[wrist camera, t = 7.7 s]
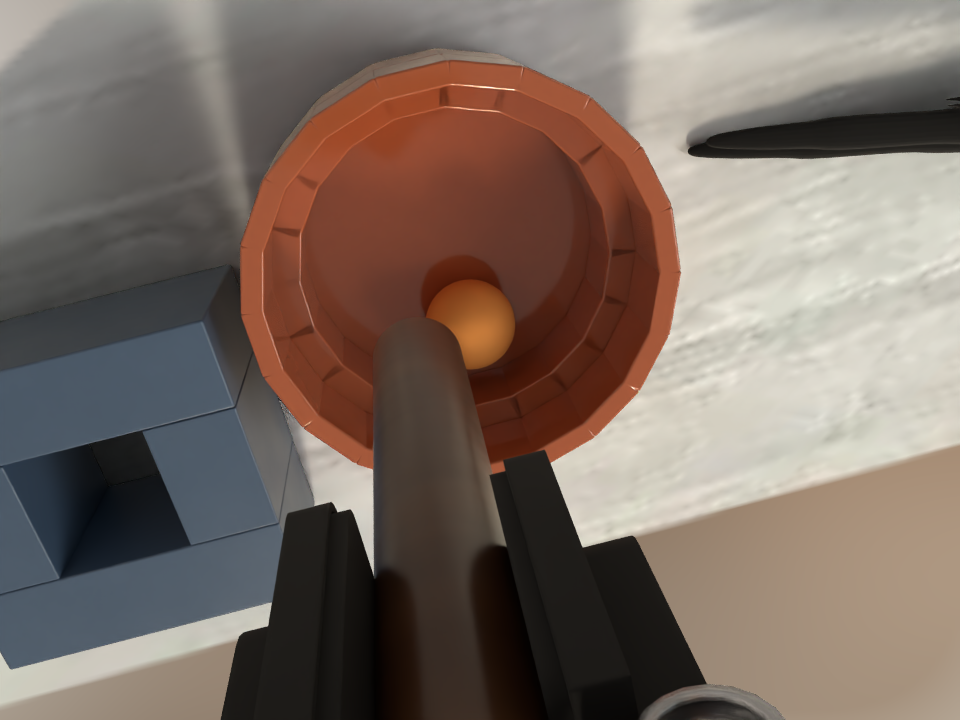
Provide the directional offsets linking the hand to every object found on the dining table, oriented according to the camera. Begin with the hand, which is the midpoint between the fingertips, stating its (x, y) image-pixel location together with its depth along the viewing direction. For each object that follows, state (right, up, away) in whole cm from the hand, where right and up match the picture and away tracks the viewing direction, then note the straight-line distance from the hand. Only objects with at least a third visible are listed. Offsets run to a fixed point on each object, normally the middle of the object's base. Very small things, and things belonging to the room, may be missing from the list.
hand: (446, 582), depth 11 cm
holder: (-12, 0, +23) cm, 26 cm away
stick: (-1, +3, +7) cm, 8 cm away
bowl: (-1, +7, +21) cm, 23 cm away
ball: (0, +4, +20) cm, 21 cm away
